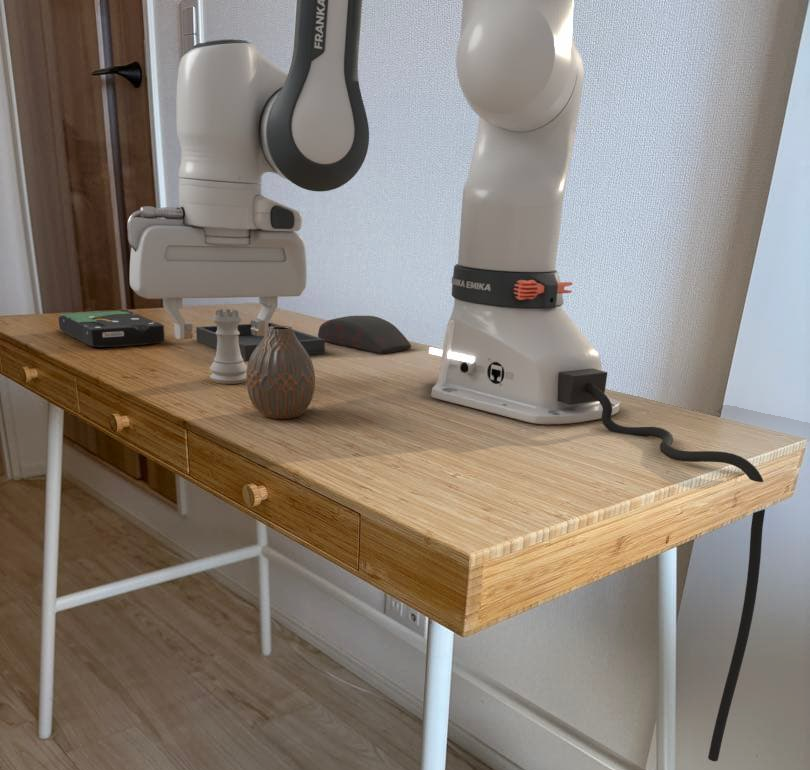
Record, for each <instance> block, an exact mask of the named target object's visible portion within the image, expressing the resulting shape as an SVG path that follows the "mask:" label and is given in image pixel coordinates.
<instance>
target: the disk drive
mask: <svg viewBox="0 0 810 770" xmlns="http://www.w3.org/2000/svg"><path fill="white" fill-rule="evenodd" d="M57 320H58V325H59V326H58V327H59V330H60V331H61V332H63V333H65V334H67V335H68V336H70V337H73V338H75V339H76V340H78V341H80V342H82V343H83V344H86V345H87V346H90V347H97V348H101V347H102V348H103V347H108V348H111V347H129V346H140V345H141V346H142V345H148V344H157V343H158V344H160V343H164V342H166V336H165V335H166V334H165V325H164V324H162V323H160V322H158V321H155V320H152V319H150V318H147V317H146V316H143V315H140V314H138V313H135V312H133V311H130V310H127V309H117V310H116V309H115V310H114V309H113V310H94V311H84V312H68V313H67V312H61V313H60V315H59V317H58V319H57Z"/></svg>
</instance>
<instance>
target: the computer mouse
mask: <svg viewBox="0 0 810 770" xmlns="http://www.w3.org/2000/svg"><path fill="white" fill-rule="evenodd" d="M317 337H318V338H321V339H324V340H325V342H326V343H329V344H333V345H338V346H343V347H347V348H350V349H356V350H359V351H360V350H361V351H365V352H370V353H375V354H380V355H385V354H390V353H396V352H403V351H409V350H411V348H412V344H411V343H410V341H409V339H407V338H406V336H405V335H404V334H403V333H402V331H400V329H398V327H396V326H395V325H394V324H393V323H391V321H388V320H386V319H384V318H381V317H379V316H374V315H348V316H341V317H337V318H332V319H329V320H326V321H325V322H323V323H321V324H320V326H319V329H318V333H317Z"/></svg>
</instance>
